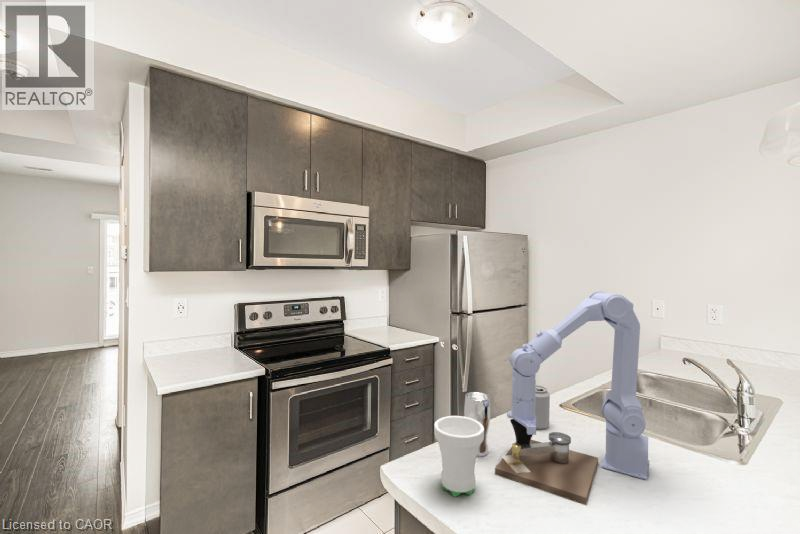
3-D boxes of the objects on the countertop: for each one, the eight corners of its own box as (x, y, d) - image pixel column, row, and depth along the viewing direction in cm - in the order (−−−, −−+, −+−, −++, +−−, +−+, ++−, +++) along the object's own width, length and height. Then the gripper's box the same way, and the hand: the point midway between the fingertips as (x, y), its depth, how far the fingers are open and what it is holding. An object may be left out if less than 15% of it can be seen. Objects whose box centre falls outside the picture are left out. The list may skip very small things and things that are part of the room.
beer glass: (471, 442, 108) (472, 389, 108) (494, 450, 103) (495, 395, 103) (459, 451, 102) (459, 396, 102) (482, 460, 98) (483, 402, 98)
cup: (491, 499, 82) (492, 434, 82) (442, 506, 80) (443, 439, 79) (471, 471, 93) (472, 413, 93) (427, 476, 91) (428, 417, 90)
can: (545, 432, 114) (545, 393, 114) (520, 426, 119) (521, 388, 118) (552, 424, 120) (552, 386, 120) (528, 418, 125) (529, 382, 124)
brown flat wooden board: (598, 463, 97) (598, 456, 97) (586, 504, 81) (586, 496, 81) (517, 441, 109) (517, 435, 109) (492, 473, 92) (492, 465, 92)
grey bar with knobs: (561, 452, 99) (562, 431, 99) (575, 463, 94) (575, 440, 94) (507, 459, 95) (507, 436, 95) (518, 470, 90) (518, 446, 90)
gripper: (501, 387, 104) (500, 436, 104) (515, 407, 89) (514, 464, 90) (527, 387, 104) (526, 437, 104) (545, 408, 89) (544, 465, 89)
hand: (522, 450), depth 97 cm, fingers closed
